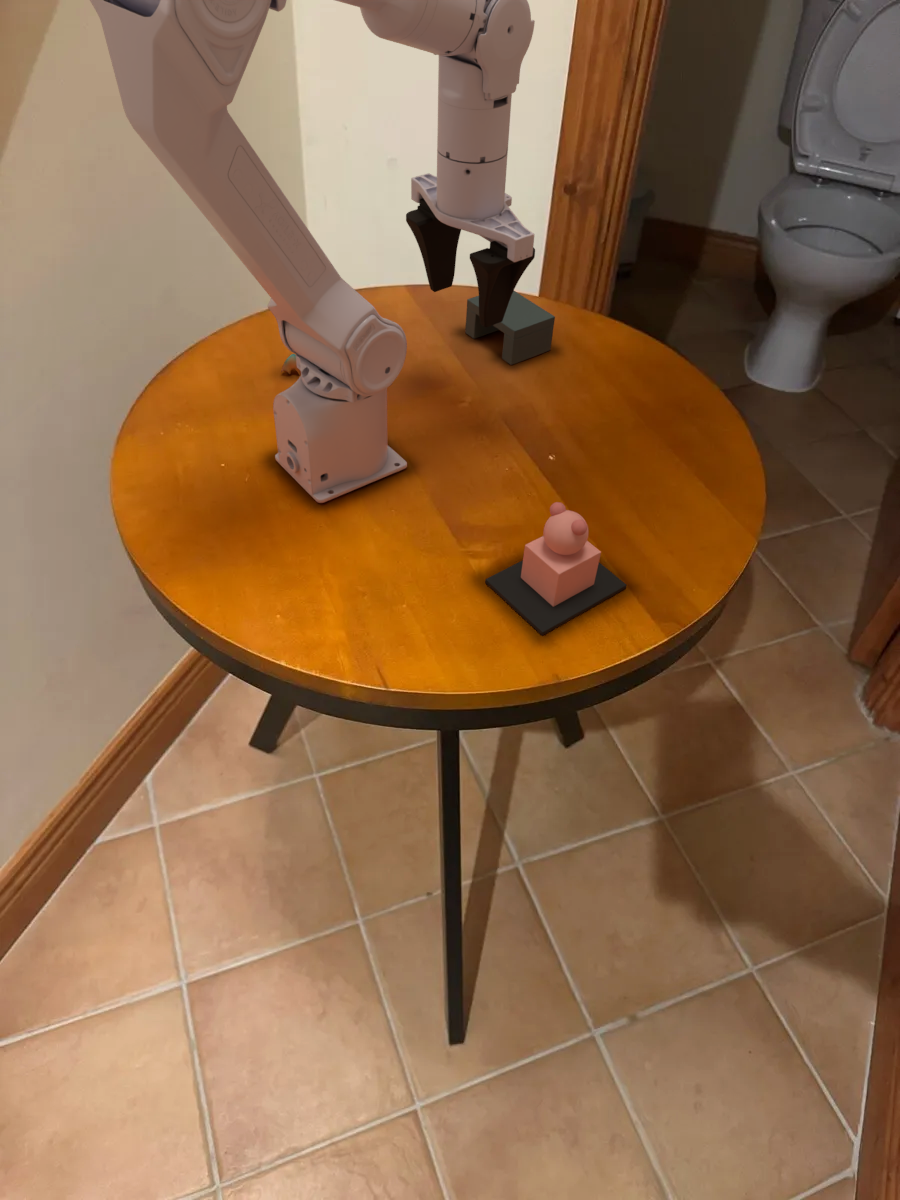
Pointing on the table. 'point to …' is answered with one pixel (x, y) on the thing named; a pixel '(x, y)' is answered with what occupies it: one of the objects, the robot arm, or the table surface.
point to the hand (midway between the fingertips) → (465, 305)
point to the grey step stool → (515, 328)
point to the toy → (561, 557)
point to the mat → (543, 612)
